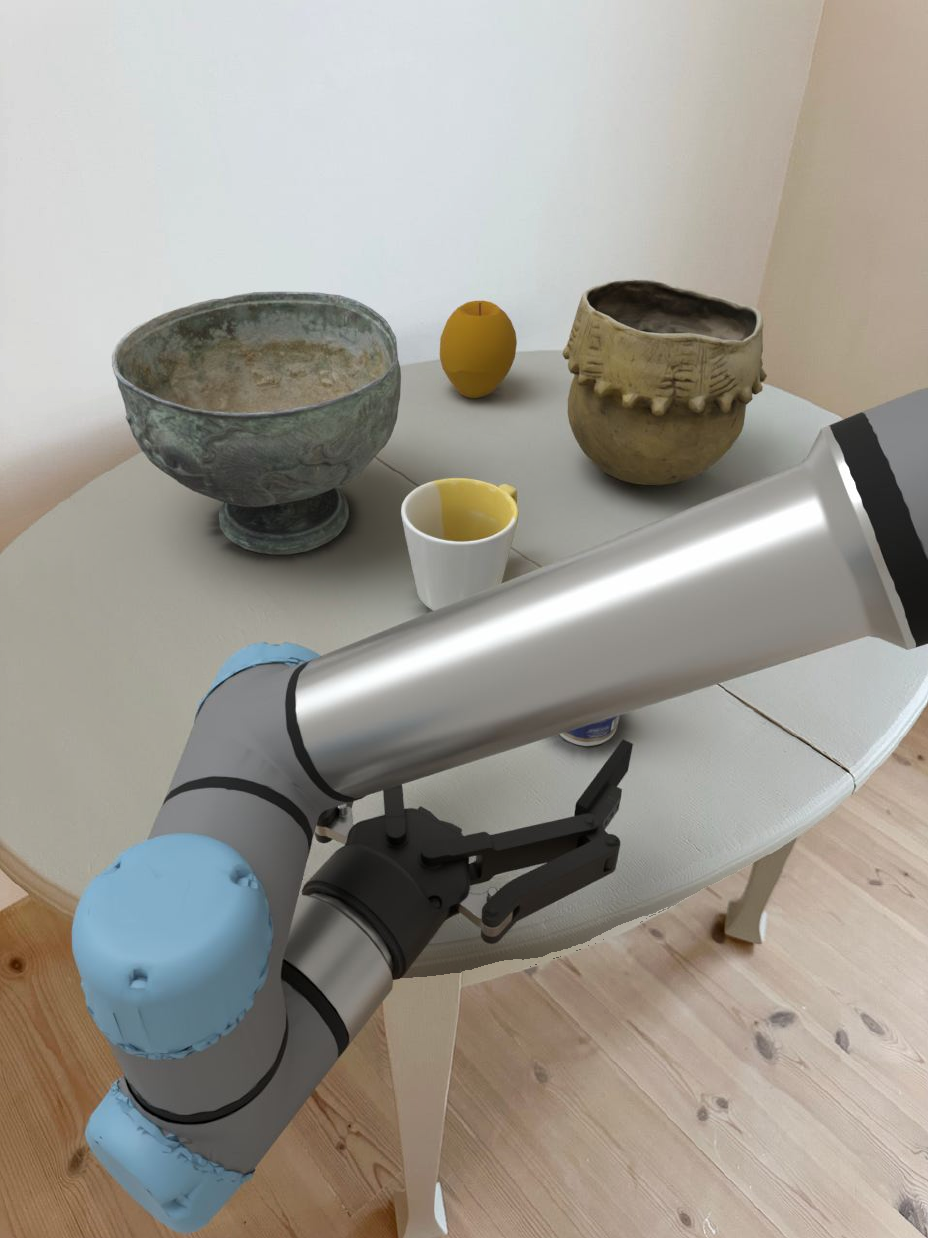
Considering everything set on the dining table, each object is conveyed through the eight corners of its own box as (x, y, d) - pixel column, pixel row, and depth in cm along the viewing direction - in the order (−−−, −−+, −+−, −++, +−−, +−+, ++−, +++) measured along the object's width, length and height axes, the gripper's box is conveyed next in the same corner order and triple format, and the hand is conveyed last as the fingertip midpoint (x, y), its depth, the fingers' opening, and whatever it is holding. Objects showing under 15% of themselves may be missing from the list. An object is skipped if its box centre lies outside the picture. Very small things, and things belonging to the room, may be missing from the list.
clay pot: (625, 408, 120) (648, 247, 107) (775, 472, 109) (820, 301, 96) (514, 468, 108) (525, 296, 96) (669, 547, 97) (704, 364, 84)
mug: (455, 652, 85) (456, 557, 78) (381, 598, 90) (377, 505, 83) (559, 588, 92) (568, 496, 85) (485, 542, 98) (488, 452, 91)
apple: (521, 408, 120) (526, 317, 112) (444, 412, 118) (444, 320, 111) (507, 373, 127) (512, 286, 119) (435, 377, 126) (435, 289, 118)
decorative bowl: (463, 532, 98) (457, 345, 85) (239, 637, 86) (194, 437, 73) (325, 438, 114) (303, 269, 101) (121, 514, 102) (67, 334, 89)
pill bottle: (538, 712, 79) (547, 623, 73) (593, 692, 81) (606, 603, 75) (573, 757, 75) (586, 666, 69) (630, 734, 77) (647, 644, 71)
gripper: (197, 871, 61) (397, 681, 75) (534, 1097, 51) (694, 828, 64) (176, 796, 56) (394, 607, 70) (543, 1028, 46) (715, 753, 59)
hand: (538, 713), depth 67 cm, fingers open, 13 cm apart
